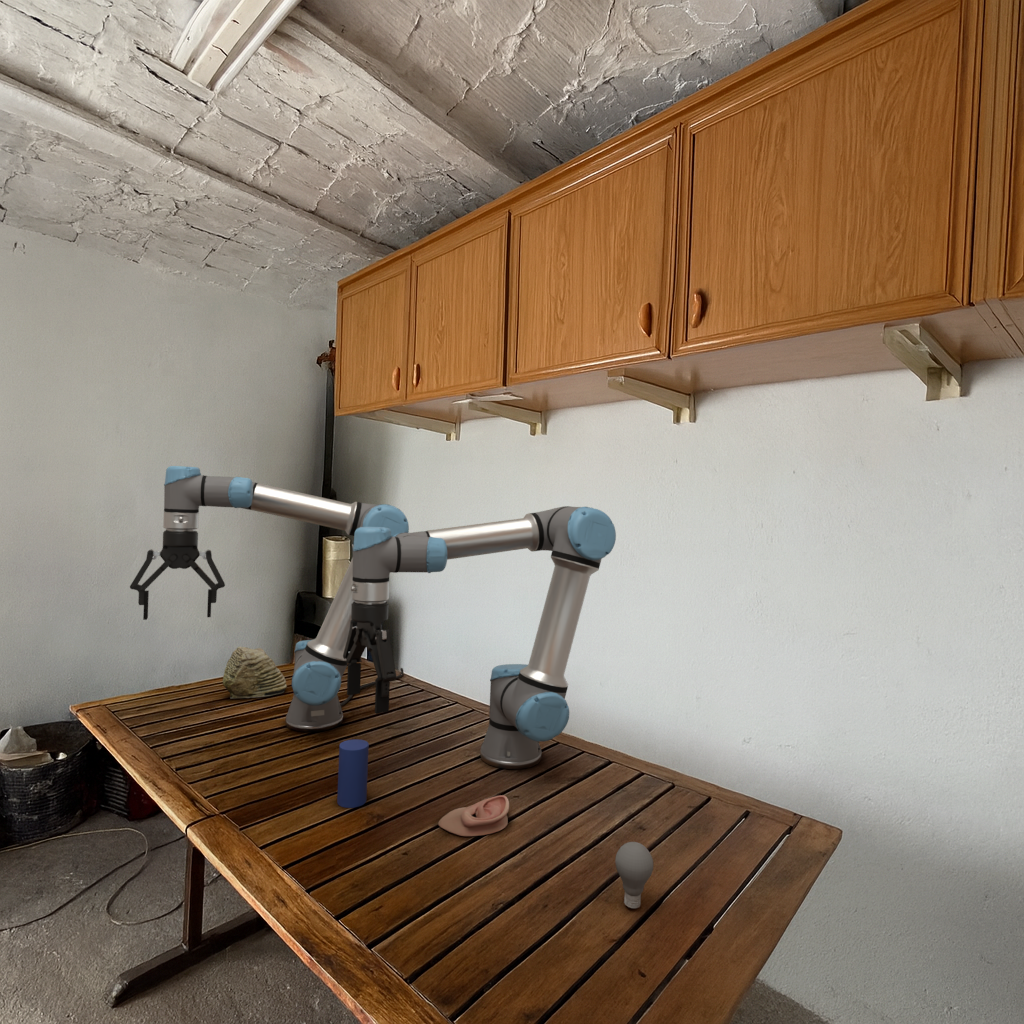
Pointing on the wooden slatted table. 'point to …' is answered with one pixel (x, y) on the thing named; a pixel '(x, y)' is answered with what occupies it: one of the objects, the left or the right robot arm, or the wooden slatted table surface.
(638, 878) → the light bulb
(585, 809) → the wooden slatted table surface
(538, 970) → the wooden slatted table surface
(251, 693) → the fossil
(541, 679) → the right robot arm
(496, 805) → the anatomical model
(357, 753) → the canister
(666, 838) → the wooden slatted table surface
